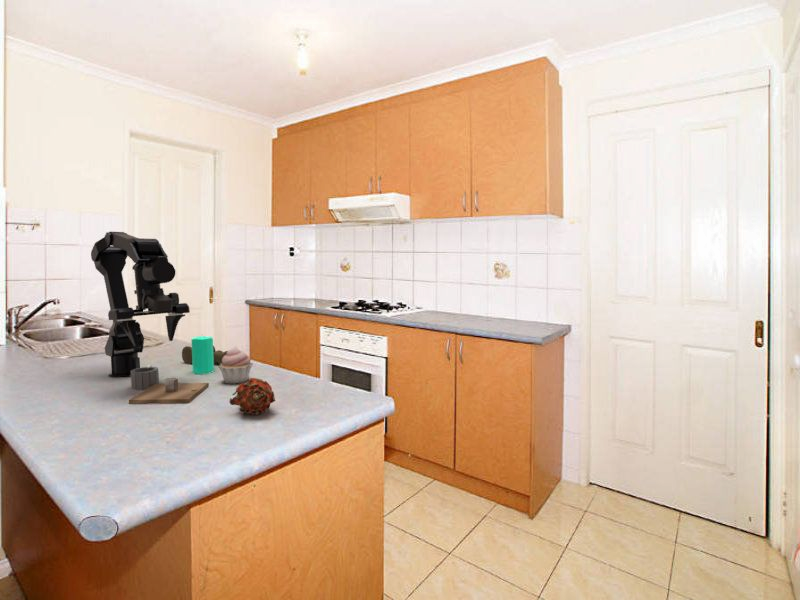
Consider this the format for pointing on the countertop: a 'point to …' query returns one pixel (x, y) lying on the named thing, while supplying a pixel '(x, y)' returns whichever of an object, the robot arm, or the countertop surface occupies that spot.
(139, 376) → the gray faceted pot
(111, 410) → the countertop surface
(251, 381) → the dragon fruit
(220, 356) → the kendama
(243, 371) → the cupcake
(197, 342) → the candle
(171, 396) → the square brown plate
